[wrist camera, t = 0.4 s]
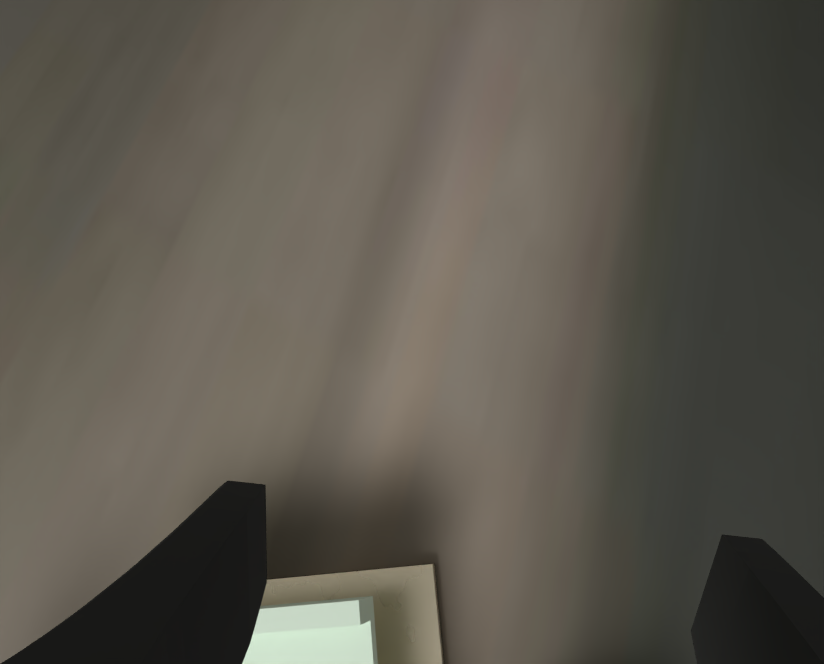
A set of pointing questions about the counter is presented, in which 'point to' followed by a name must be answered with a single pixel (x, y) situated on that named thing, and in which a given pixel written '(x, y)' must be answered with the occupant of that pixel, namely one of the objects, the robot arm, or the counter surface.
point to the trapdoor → (315, 633)
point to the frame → (379, 607)
